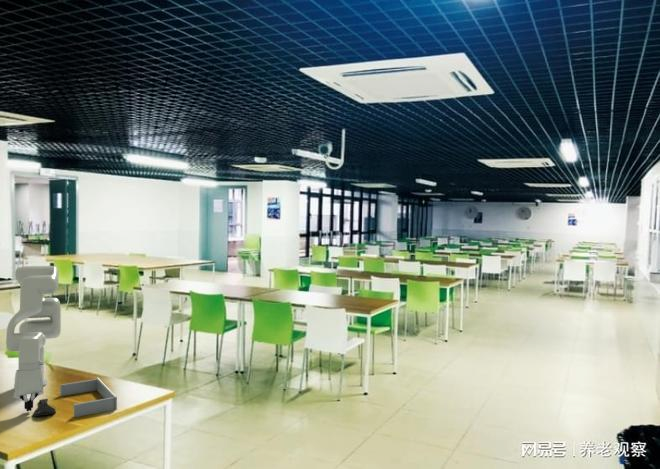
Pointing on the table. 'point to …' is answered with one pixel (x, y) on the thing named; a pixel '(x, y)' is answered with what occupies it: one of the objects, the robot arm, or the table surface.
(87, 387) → the box
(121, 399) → the table surface
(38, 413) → the hairbrush
